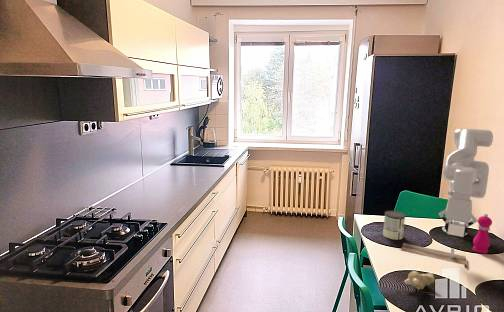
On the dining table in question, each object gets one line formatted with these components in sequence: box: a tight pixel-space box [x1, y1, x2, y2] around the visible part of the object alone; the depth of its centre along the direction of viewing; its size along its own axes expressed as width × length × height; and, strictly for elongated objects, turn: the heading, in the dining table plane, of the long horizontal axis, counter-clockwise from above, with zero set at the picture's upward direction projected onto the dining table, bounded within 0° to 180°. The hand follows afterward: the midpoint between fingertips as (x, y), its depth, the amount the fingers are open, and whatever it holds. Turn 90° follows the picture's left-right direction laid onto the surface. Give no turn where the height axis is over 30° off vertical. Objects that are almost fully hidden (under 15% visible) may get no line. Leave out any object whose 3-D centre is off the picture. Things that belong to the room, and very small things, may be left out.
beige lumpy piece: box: [403, 270, 435, 291], centre depth 140 cm, size 8×7×12 cm
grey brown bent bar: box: [400, 242, 468, 269], centre depth 169 cm, size 10×28×2 cm, turn 61°
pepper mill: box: [472, 213, 493, 255], centre depth 175 cm, size 7×7×20 cm
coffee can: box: [382, 210, 406, 241], centre depth 188 cm, size 10×10×14 cm
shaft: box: [450, 247, 455, 259], centre depth 165 cm, size 3×1×4 cm, turn 151°
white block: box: [447, 220, 465, 238], centre depth 162 cm, size 6×6×5 cm
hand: (455, 232), depth 162 cm, fingers closed on white block, 6 cm apart
